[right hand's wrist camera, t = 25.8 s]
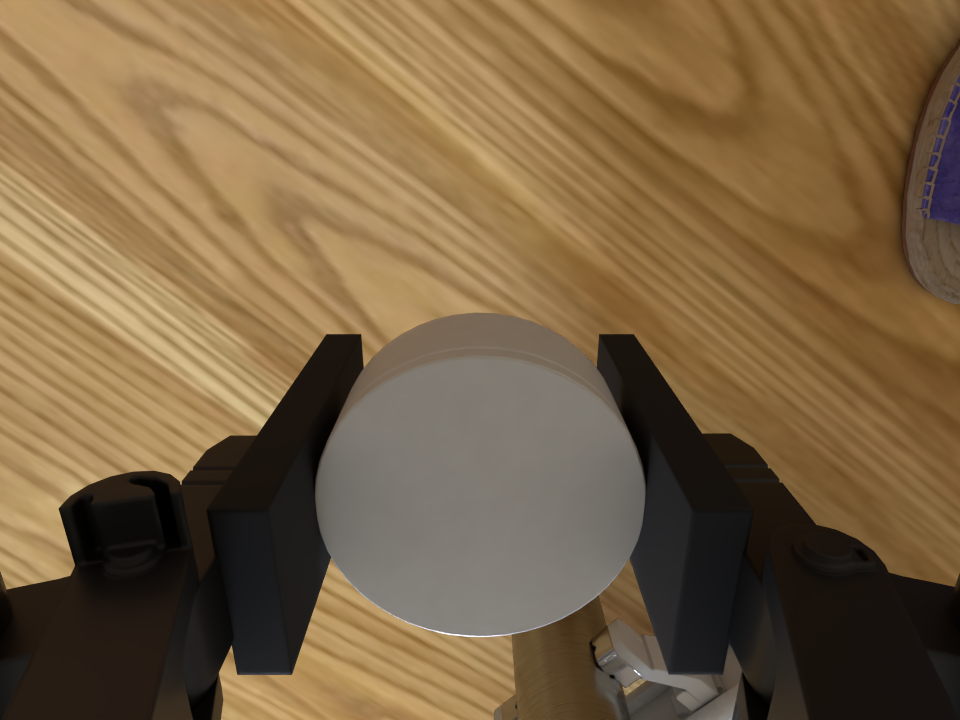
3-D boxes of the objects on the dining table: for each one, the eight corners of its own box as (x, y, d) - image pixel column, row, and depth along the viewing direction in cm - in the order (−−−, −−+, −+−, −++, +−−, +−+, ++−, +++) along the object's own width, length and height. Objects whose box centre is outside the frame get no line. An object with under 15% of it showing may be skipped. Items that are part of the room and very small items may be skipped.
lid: (340, 545, 13) (314, 627, 11) (343, 298, 11) (312, 340, 9) (595, 564, 13) (616, 647, 11) (641, 324, 11) (677, 371, 9)
